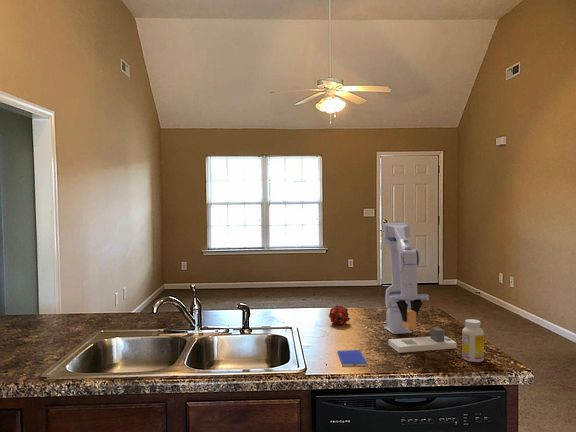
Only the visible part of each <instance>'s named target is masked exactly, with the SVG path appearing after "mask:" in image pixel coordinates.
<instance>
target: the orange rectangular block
mask: <svg viewBox="0 0 576 432" xmlns="http://www.w3.org/2000/svg"><path fill="white" fill-rule="evenodd" d="M403 326H404V327H405V328H407V329H408V330H417V318H416V312H415V311H413V310H411V308H409V309H407V322H404V321H403Z"/></svg>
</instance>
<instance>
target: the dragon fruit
mask: <svg viewBox="0 0 576 432" xmlns="http://www.w3.org/2000/svg"><path fill="white" fill-rule="evenodd" d="M348 311H349V309H348V308H346V307H345V306H344V305H339V304H338V305H335V306H334V307H331V309H330V310H329V314H328V317H329V319H330V323H333V324H334V326H336V327H337V326H340V325H345V324H346V323H347V322H350V320H351V318H350V316H349V315H350V314H349V312H348Z"/></svg>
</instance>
